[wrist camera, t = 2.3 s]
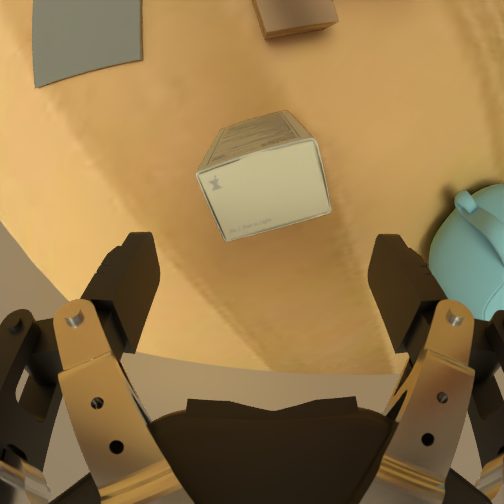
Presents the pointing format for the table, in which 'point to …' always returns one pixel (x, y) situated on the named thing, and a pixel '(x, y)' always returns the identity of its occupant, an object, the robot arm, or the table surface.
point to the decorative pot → (472, 252)
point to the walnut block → (293, 16)
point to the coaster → (83, 36)
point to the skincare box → (263, 176)
